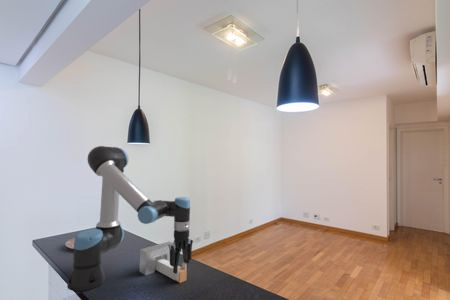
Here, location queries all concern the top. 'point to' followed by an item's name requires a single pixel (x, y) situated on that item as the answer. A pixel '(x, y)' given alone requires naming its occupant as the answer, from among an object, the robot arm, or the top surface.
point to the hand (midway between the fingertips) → (180, 277)
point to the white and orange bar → (169, 269)
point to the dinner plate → (70, 243)
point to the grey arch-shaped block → (153, 256)
